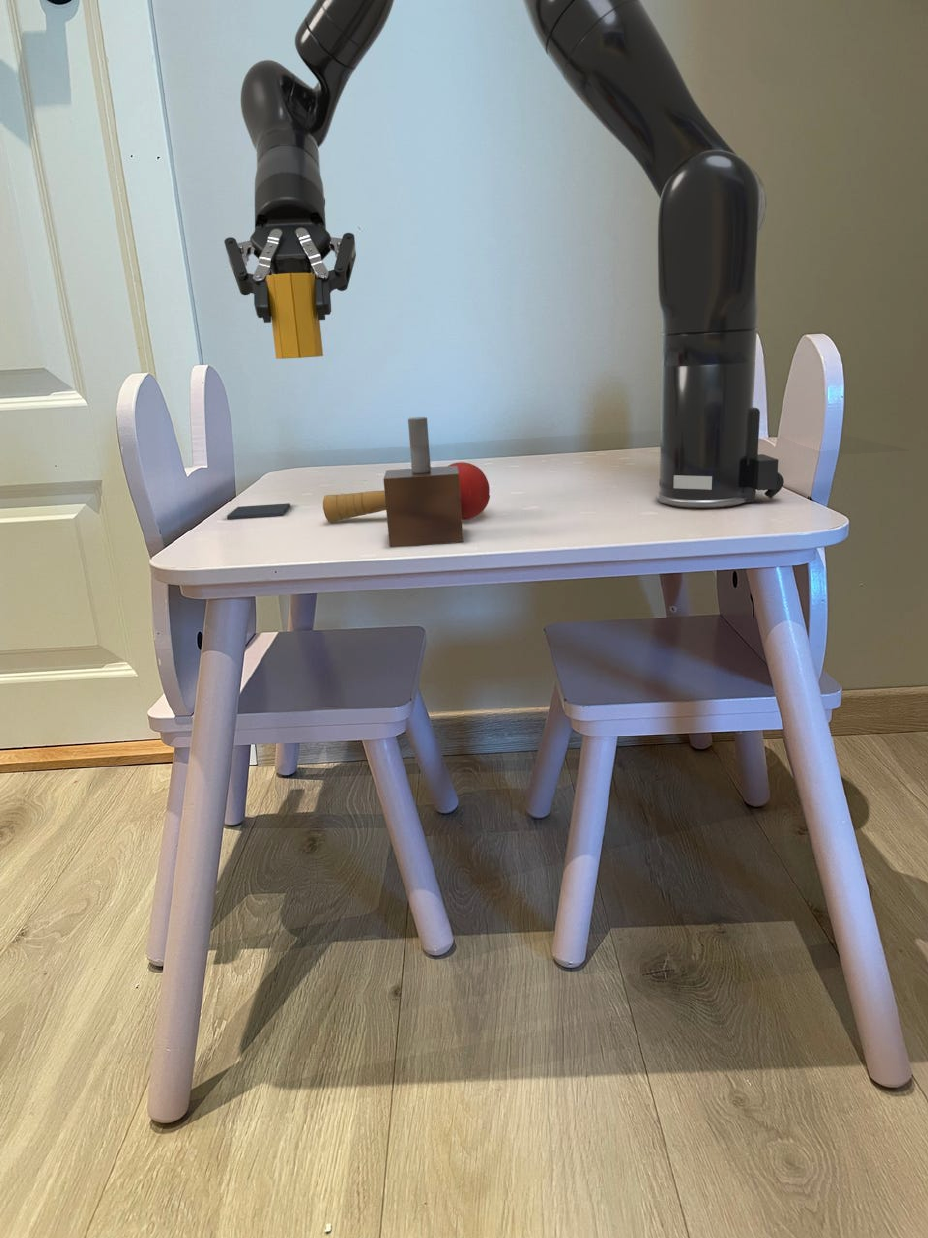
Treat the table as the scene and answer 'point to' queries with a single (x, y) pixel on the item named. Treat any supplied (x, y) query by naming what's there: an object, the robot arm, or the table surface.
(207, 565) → the table surface
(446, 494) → the stand
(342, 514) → the kendama
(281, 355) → the sleeve
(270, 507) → the coaster
